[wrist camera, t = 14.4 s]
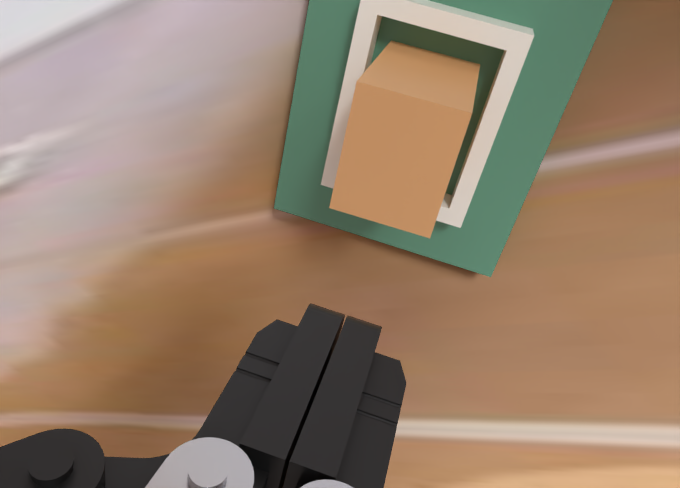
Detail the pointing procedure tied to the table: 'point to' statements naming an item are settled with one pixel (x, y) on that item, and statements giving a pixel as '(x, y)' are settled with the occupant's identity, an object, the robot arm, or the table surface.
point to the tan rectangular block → (404, 137)
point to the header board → (485, 123)
